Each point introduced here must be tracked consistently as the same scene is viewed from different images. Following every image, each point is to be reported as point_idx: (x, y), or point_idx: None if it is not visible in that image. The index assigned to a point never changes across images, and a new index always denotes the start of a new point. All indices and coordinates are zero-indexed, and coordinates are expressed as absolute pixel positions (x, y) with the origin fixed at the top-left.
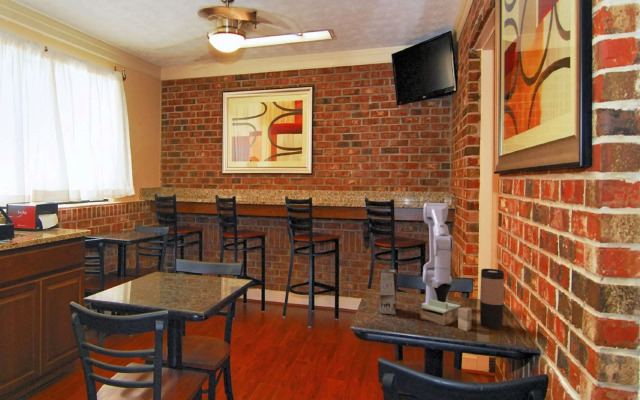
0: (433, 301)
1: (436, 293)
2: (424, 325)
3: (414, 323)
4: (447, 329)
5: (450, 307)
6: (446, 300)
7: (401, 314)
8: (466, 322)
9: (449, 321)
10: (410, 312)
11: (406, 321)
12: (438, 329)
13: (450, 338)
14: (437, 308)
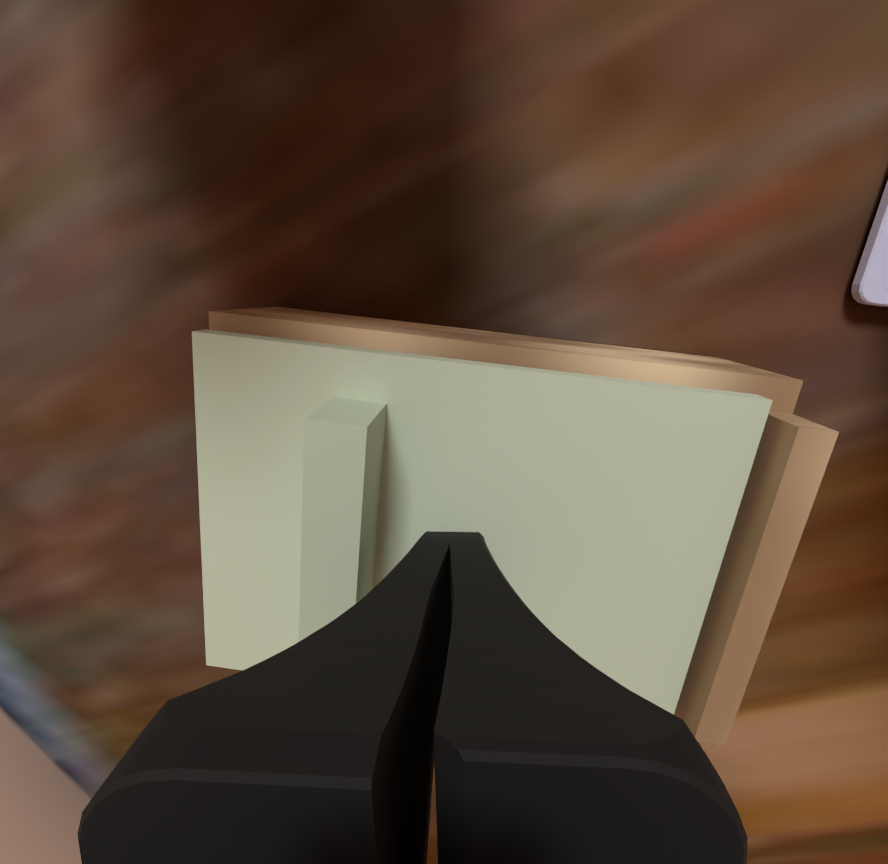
0: (302, 509)
1: (341, 623)
2: (128, 436)
3: (93, 333)
4: None
5: None
6: (758, 544)
7: (250, 13)
8: None
9: None
10: (432, 63)
11: (72, 230)
12: (142, 569)
13: (45, 693)
14: (270, 559)
